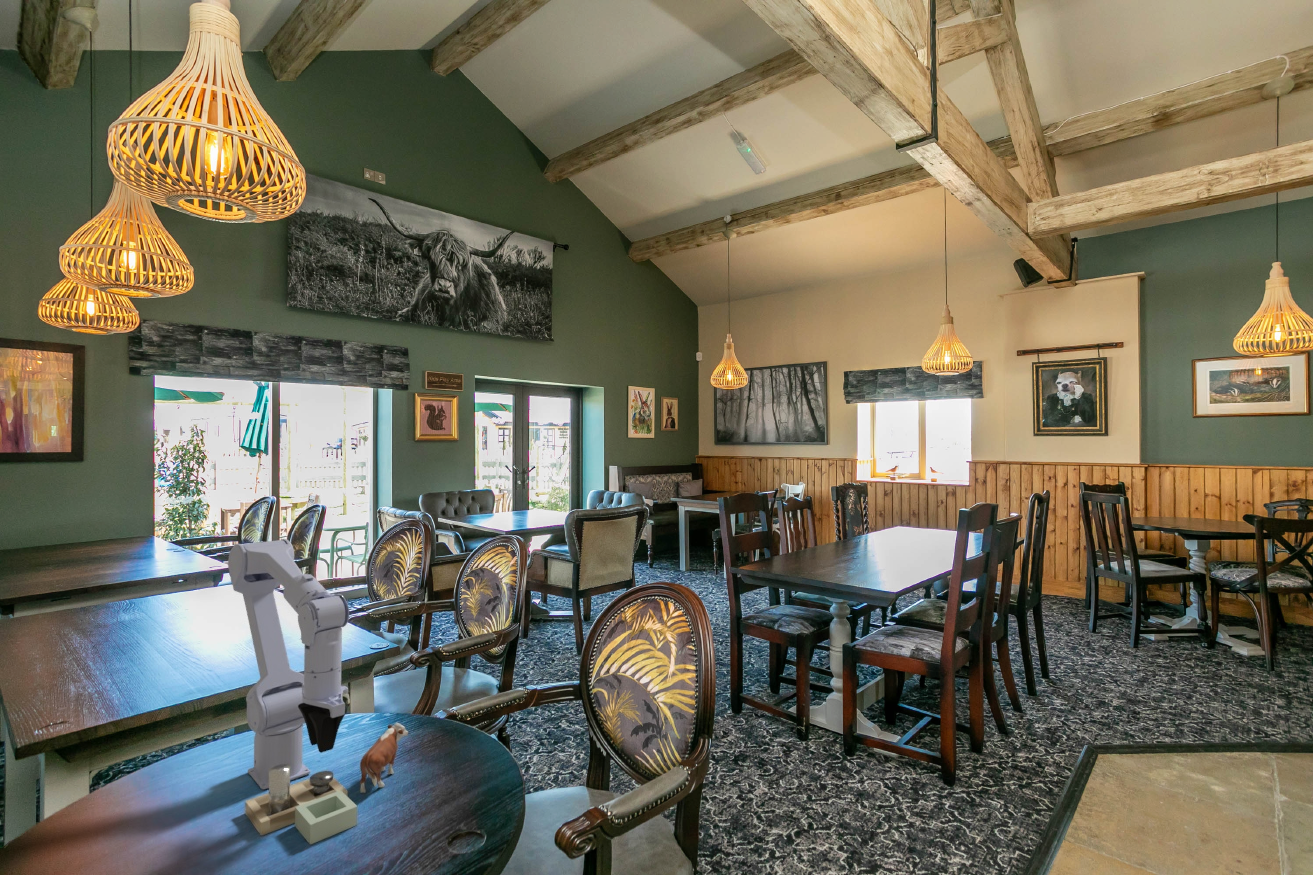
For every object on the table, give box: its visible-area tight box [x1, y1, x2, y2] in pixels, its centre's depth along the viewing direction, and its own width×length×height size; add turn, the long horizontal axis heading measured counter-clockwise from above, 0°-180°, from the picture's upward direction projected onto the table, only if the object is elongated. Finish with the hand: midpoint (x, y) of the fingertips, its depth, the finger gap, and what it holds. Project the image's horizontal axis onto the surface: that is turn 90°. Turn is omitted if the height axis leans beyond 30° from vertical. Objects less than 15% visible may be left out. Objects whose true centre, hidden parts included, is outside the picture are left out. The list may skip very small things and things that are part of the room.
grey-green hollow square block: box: [294, 790, 358, 845], centre depth 102 cm, size 7×7×3 cm
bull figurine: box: [359, 722, 409, 794], centre depth 117 cm, size 4×13×8 cm, turn 174°
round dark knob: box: [309, 770, 334, 797], centre depth 109 cm, size 4×4×4 cm
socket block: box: [244, 776, 348, 836], centre depth 107 cm, size 9×13×2 cm
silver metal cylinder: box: [267, 764, 291, 816], centre depth 104 cm, size 3×3×8 cm
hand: (321, 746), depth 109 cm, fingers open, 3 cm apart
